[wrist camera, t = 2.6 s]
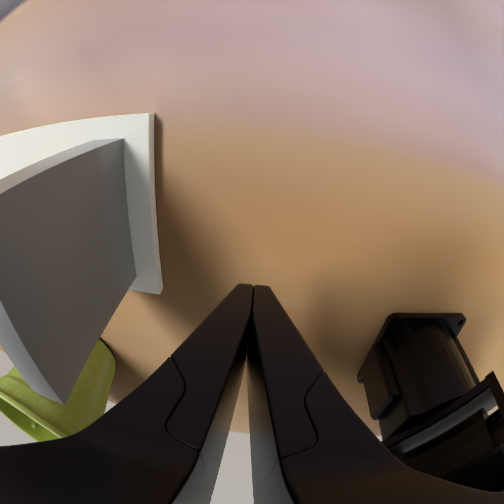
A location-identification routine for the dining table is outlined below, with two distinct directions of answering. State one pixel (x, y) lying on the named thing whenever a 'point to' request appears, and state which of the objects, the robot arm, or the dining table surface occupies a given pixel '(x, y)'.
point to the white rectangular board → (136, 175)
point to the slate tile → (63, 261)
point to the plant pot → (53, 413)
